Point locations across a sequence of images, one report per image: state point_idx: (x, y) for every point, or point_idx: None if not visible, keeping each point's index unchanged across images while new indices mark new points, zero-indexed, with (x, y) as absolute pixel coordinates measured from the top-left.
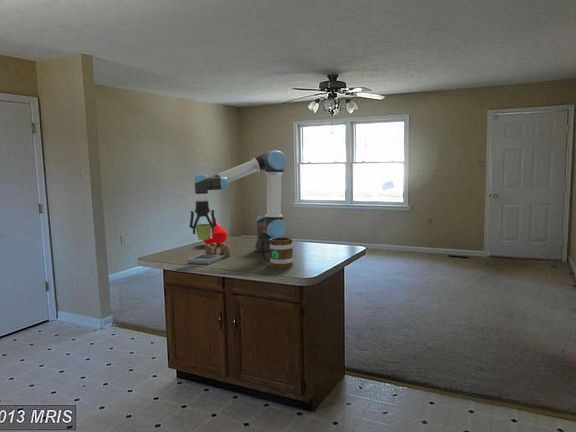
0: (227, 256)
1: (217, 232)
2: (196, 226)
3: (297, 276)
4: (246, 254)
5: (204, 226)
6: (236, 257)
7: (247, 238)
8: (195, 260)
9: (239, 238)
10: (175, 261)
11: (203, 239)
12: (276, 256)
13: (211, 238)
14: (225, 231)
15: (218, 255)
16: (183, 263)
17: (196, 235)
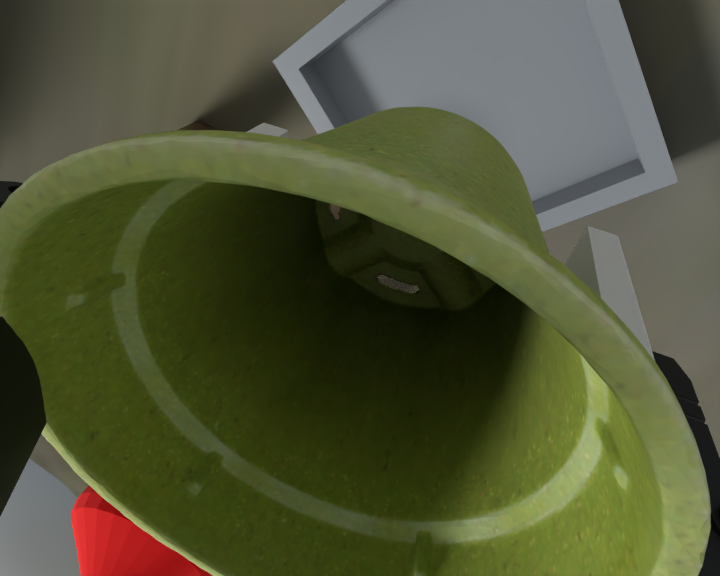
0: (203, 126)
1: (123, 523)
2: (651, 539)
3: None
4: (43, 98)
5: (362, 184)
6: (136, 37)
7: (31, 453)
8: (640, 68)
9: (64, 477)
10: (672, 336)
11: (476, 127)
12: None
13: (275, 128)
14: (76, 509)
15: (293, 88)
16: (708, 195)
17: (612, 286)
